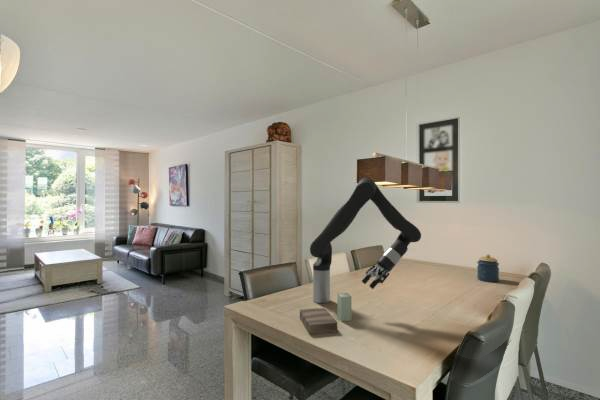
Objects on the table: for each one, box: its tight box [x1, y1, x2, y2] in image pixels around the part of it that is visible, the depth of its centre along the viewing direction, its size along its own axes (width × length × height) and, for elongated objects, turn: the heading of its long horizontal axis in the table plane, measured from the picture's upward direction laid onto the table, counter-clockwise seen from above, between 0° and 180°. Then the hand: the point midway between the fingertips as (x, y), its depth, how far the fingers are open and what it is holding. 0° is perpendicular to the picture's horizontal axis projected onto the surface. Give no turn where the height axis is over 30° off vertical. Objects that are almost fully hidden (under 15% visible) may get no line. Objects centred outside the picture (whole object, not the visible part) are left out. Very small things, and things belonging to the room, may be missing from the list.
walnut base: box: [299, 307, 338, 335], centre depth 136 cm, size 18×12×4 cm, turn 12°
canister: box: [476, 254, 500, 283], centre depth 213 cm, size 13×13×18 cm
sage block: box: [336, 292, 352, 322], centre depth 142 cm, size 5×5×11 cm
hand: (366, 285), depth 145 cm, fingers open, 8 cm apart
